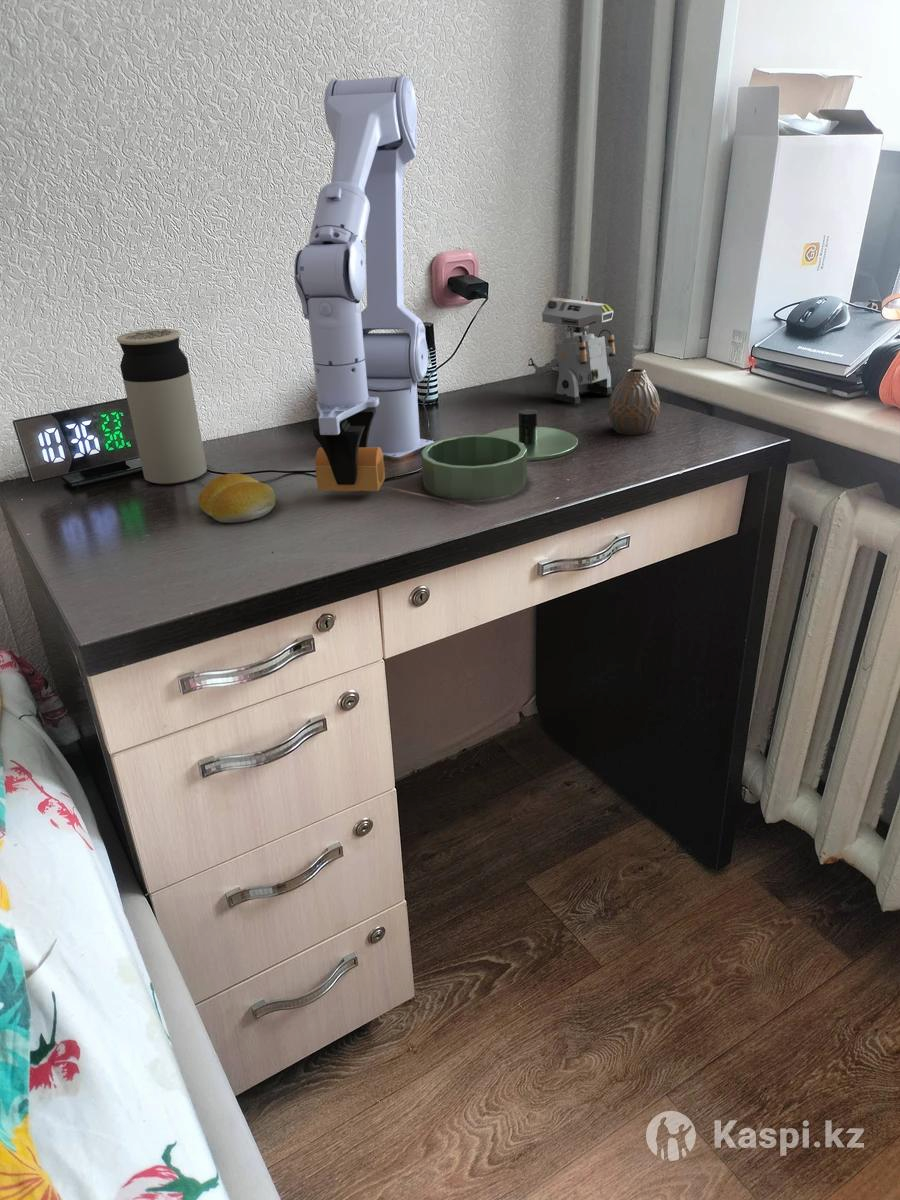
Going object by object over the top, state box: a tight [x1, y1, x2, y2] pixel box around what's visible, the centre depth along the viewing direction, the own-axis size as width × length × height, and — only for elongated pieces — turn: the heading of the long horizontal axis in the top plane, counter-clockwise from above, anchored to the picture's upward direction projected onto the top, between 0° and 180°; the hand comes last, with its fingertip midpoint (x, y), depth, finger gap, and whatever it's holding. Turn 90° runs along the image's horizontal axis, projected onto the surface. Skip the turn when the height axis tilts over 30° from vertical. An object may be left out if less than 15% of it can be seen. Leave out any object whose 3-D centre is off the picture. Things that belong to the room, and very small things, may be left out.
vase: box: [608, 367, 661, 436], centre depth 119 cm, size 7×7×9 cm
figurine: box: [527, 297, 617, 405], centre depth 136 cm, size 9×12×15 cm
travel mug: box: [116, 328, 208, 485], centre depth 110 cm, size 8×8×18 cm
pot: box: [420, 434, 528, 501], centre depth 105 cm, size 12×12×4 cm
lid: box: [485, 408, 579, 462], centre depth 116 cm, size 13×13×5 cm
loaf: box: [314, 446, 386, 492], centre depth 102 cm, size 7×4×4 cm, turn 83°
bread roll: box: [197, 472, 276, 524], centre depth 101 cm, size 8×9×4 cm
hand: (350, 476), depth 103 cm, fingers closed on loaf, 4 cm apart
